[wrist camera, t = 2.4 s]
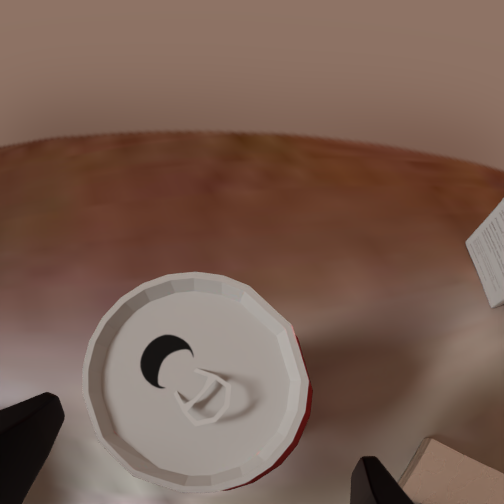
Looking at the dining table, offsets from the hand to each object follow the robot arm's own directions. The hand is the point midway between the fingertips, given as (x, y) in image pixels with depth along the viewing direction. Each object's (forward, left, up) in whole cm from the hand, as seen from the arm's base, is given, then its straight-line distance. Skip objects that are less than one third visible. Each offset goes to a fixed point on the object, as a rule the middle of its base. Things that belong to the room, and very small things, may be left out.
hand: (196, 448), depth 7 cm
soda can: (+2, +1, -9) cm, 10 cm away
